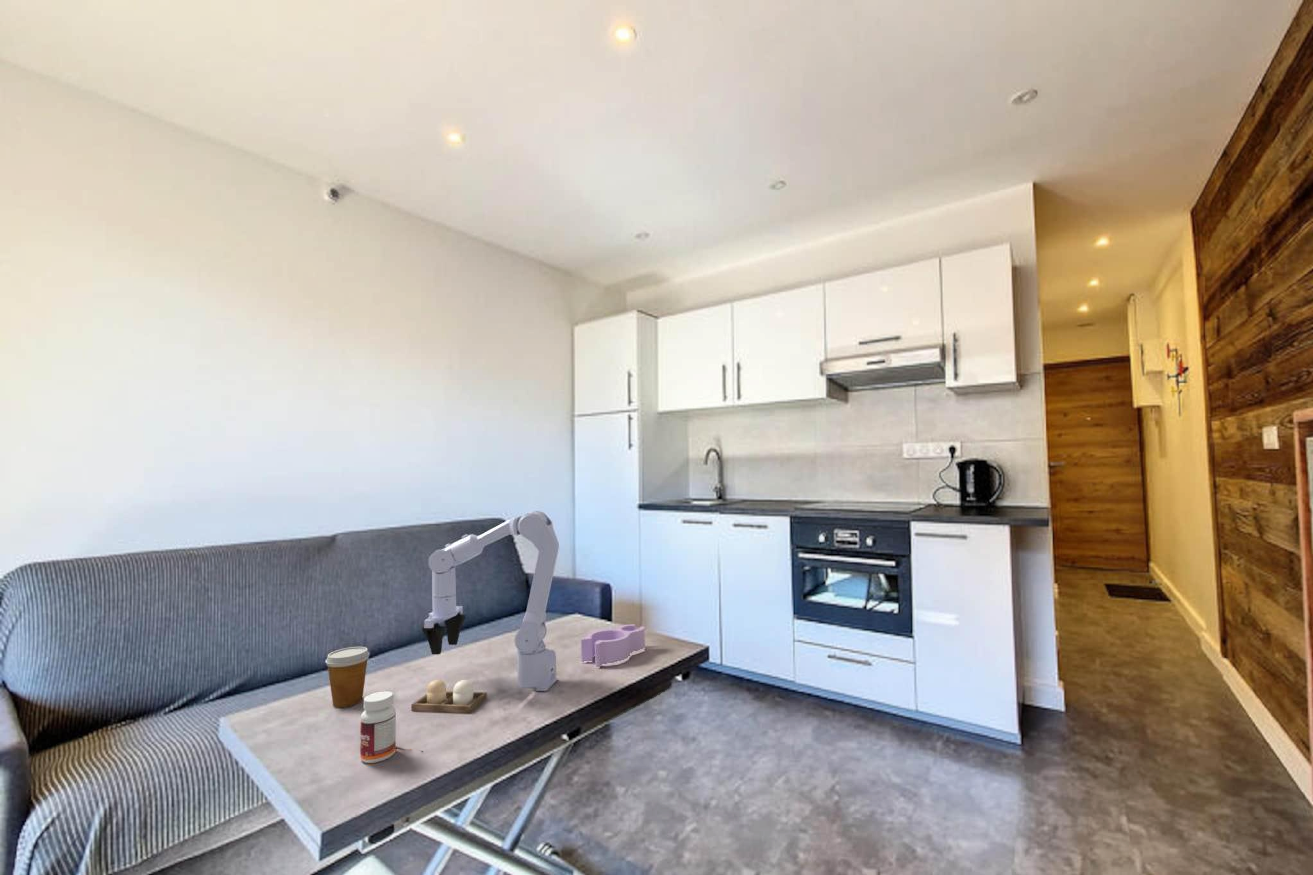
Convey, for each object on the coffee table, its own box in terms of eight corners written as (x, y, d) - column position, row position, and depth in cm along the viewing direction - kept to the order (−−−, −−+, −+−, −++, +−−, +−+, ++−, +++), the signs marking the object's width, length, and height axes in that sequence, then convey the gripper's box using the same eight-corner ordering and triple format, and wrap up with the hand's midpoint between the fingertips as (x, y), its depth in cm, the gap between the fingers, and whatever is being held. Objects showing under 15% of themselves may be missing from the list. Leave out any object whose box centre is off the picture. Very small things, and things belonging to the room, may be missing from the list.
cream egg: (460, 700, 129) (459, 676, 129) (476, 701, 128) (476, 677, 129) (449, 708, 125) (448, 683, 125) (466, 709, 124) (466, 684, 124)
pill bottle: (355, 757, 105) (355, 697, 106) (387, 744, 110) (387, 687, 111) (368, 767, 101) (368, 705, 102) (401, 754, 106) (401, 694, 107)
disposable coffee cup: (378, 697, 135) (378, 648, 136) (342, 713, 127) (342, 660, 127) (352, 692, 139) (352, 644, 140) (316, 707, 131) (316, 656, 131)
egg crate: (487, 701, 130) (486, 692, 130) (469, 716, 122) (469, 706, 122) (431, 699, 132) (431, 690, 132) (411, 714, 124) (411, 704, 124)
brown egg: (449, 700, 129) (449, 677, 130) (439, 708, 125) (439, 683, 126) (433, 700, 130) (433, 676, 130) (423, 707, 126) (423, 683, 126)
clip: (626, 644, 170) (625, 622, 171) (654, 652, 162) (653, 628, 162) (575, 662, 156) (574, 637, 157) (603, 671, 147) (602, 645, 148)
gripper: (445, 589, 149) (446, 640, 148) (413, 602, 134) (413, 658, 133) (469, 589, 147) (470, 640, 146) (438, 602, 133) (439, 658, 132)
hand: (444, 649), depth 140 cm, fingers open, 7 cm apart
